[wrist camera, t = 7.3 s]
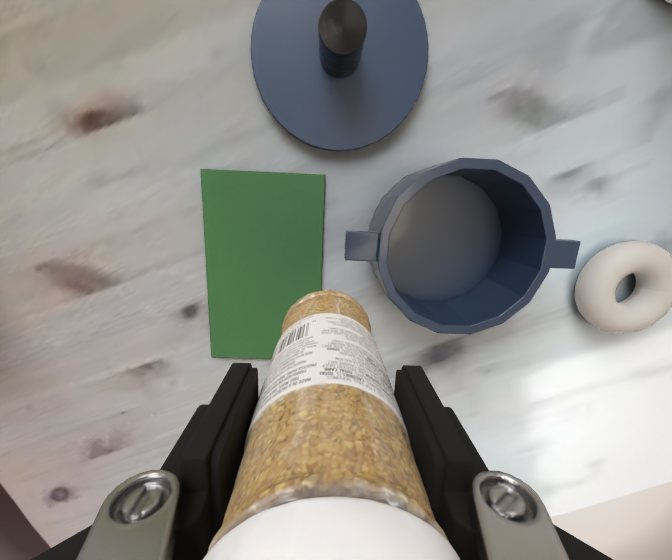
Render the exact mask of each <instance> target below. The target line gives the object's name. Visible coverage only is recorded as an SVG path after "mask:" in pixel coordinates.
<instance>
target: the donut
mask: <svg viewBox="0 0 672 560" xmlns="http://www.w3.org/2000/svg"><path fill="white" fill-rule="evenodd" d="M631 273H633V274H634V275H635V278H636V285H635V288H634V290H633V292H632V293H631V295H630V296H629V297H628V298H626V299H625V300H623V301H621V302H617V301H616V298H615V290H616V288H617V285H618V284H619V282H620V281H621V280H622V279H623V278H624V277H625V276H627V275H629V274H631ZM575 301H576V304H577V307H578V310H579V312H580V313H581V315H582V316H583V317H584V318H585V319H586V321H587V322H588V323H590V324H591V325H593V326H595V327H597V328H599V329H601V330H603V331H606V332H613V333H629V332H635V331H639V330H642V329H644V328H646V327H648V326H651V325H653V324H654V323H655V322H657V321H658V320H659V319H661V318H662V317H663V316H664V315H665V314H666V313H667V312H668V311H669V309H670V308H671V307H672V256H671V255H670V253H668V252H667V251H666V250H664V249H662V248H661V247H659V246H657V245H656V244H653V243H648V242H642V241H627V242H621V243H616V244H614V245H612V246H609V247H607V248H605V249H603V250H601V251H599V252H598V253H597V254H596V255H594V256H593V257H592V258H591V259H590V260H588V262H587V263H586V265H585V266H584V267H583V269H582V270H581V272H580V274H579V276H578V279H577V282H576V285H575Z"/></svg>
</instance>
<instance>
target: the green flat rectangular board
mask: <svg viewBox="0 0 672 560" xmlns="http://www.w3.org/2000/svg"><path fill="white" fill-rule="evenodd" d="M201 184H202V202H203V219H204V236H205V254H206V271H207V288H208V306H209V323H210V341H211V357H218V358H256V359H272V357H273V354H274V351H275V348H276V346H277V343H278V341H279V339H280V338H281V335H282V325H283V321H284V318H285V316H286V315H287V312H288V311H289V309H290V308H291V306H293V305H294V304H295V303H296V302H297V301H298V300H299V299H301V298H303V297H304V296H305V295H307V294H310V293H313V292H318V291H321V279H322V248H323V218H324V188H325V175H316V174H294V173H273V172H252V171H230V170H209V169H201Z"/></svg>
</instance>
